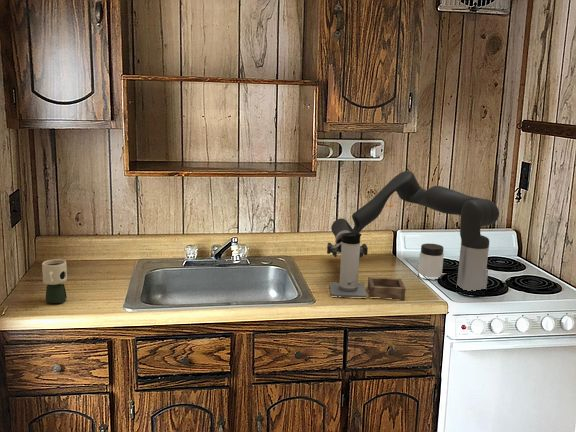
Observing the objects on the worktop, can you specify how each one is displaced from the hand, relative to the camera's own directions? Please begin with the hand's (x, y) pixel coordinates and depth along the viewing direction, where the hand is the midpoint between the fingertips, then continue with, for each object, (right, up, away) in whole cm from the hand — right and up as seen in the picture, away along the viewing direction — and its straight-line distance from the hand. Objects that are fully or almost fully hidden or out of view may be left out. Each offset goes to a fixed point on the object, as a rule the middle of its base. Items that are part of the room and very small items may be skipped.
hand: (348, 254), depth 207 cm
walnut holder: (+13, -13, 0) cm, 19 cm away
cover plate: (0, -13, 0) cm, 13 cm away
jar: (+33, -10, +20) cm, 40 cm away
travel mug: (0, -12, 0) cm, 12 cm away
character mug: (-94, -14, -17) cm, 96 cm away
